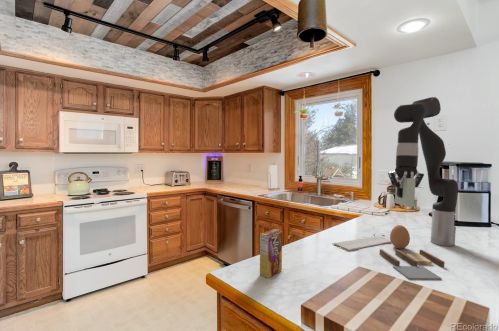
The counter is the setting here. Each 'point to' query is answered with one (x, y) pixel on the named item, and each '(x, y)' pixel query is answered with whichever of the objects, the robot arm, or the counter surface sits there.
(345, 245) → the baseboard molding
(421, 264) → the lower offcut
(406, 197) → the pale green block
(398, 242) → the egg
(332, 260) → the counter surface
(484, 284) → the counter surface
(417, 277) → the rubber mat
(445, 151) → the robot arm
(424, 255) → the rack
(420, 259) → the upper offcut
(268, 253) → the candy box
